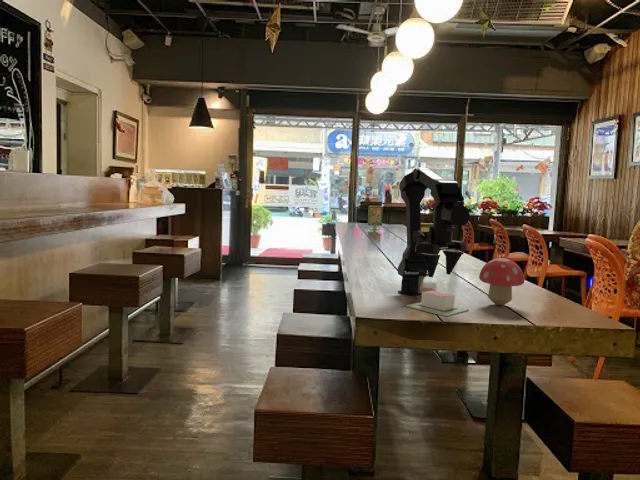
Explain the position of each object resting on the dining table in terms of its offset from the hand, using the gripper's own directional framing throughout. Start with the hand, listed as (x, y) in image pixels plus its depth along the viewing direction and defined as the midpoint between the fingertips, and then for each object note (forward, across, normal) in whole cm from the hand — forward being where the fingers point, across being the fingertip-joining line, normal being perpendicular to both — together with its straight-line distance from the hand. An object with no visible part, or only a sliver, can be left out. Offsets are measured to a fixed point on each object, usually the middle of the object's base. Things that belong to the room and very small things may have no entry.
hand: (439, 275), depth 148 cm
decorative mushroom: (+10, -21, +9) cm, 25 cm away
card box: (+10, 0, 0) cm, 10 cm away
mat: (+10, 0, 0) cm, 10 cm away
